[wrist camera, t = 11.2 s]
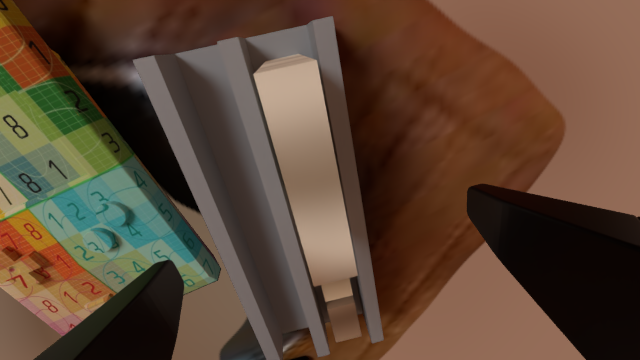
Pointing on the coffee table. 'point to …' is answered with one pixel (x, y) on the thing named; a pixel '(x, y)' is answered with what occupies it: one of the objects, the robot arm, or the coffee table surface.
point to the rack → (259, 175)
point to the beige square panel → (307, 163)
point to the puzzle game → (75, 192)
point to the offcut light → (337, 290)
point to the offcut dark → (344, 318)
